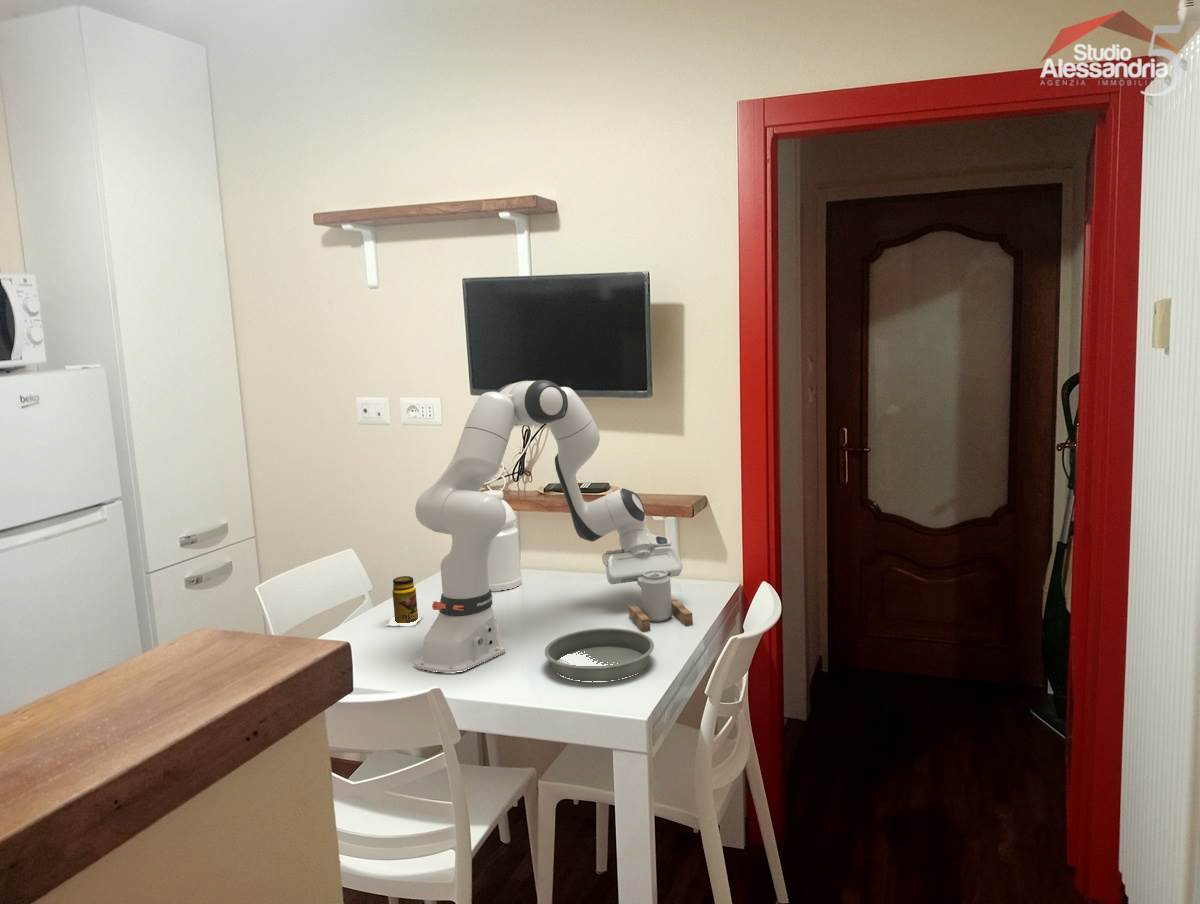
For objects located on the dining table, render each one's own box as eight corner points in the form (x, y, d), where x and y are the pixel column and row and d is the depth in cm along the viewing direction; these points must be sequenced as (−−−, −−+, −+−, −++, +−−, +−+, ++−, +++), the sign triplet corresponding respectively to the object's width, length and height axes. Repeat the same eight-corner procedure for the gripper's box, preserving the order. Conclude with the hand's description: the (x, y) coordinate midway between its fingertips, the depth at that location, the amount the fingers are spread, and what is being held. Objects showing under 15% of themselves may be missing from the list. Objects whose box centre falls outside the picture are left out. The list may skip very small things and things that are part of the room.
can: (640, 622, 239) (637, 576, 237) (645, 613, 246) (643, 568, 244) (669, 623, 237) (667, 577, 235) (674, 613, 244) (672, 568, 242)
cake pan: (571, 642, 228) (570, 624, 228) (668, 650, 219) (667, 631, 219) (527, 681, 206) (525, 661, 205) (633, 692, 197) (632, 671, 196)
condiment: (415, 626, 246) (411, 581, 244) (383, 627, 247) (379, 582, 245) (423, 617, 253) (419, 573, 251) (392, 617, 254) (388, 574, 252)
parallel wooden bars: (629, 617, 243) (628, 605, 243) (677, 610, 246) (676, 599, 246) (642, 631, 232) (642, 620, 231) (692, 624, 235) (692, 613, 234)
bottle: (508, 575, 288) (502, 485, 284) (530, 585, 277) (524, 491, 272) (466, 585, 281) (459, 492, 276) (487, 595, 269) (480, 499, 265)
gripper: (602, 545, 248) (613, 592, 240) (676, 537, 253) (689, 582, 245) (598, 558, 253) (610, 603, 245) (671, 549, 258) (684, 594, 250)
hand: (650, 593), depth 245 cm, fingers closed
